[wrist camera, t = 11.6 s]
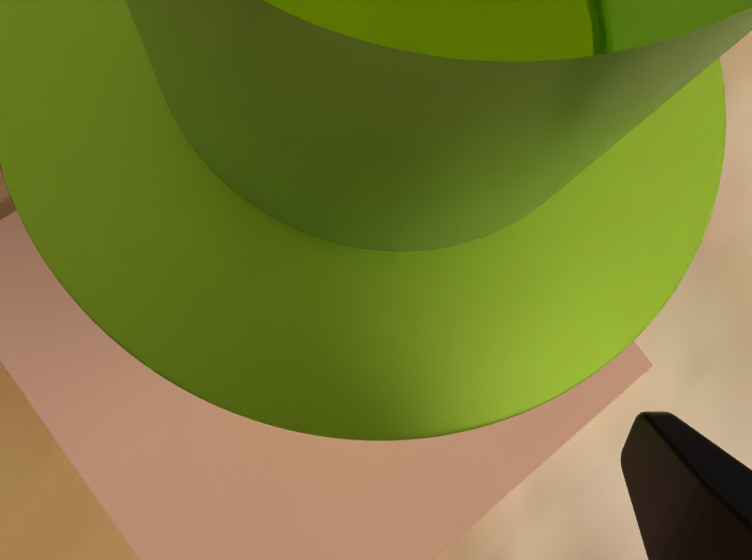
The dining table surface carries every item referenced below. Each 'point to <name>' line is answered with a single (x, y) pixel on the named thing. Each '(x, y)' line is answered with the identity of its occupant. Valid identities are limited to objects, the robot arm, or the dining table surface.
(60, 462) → the dining table surface
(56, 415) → the terracotta tile
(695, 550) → the robot arm
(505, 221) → the soap dispenser
